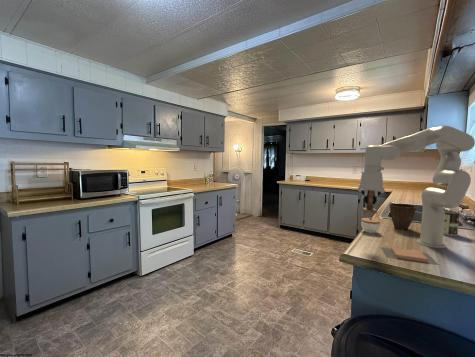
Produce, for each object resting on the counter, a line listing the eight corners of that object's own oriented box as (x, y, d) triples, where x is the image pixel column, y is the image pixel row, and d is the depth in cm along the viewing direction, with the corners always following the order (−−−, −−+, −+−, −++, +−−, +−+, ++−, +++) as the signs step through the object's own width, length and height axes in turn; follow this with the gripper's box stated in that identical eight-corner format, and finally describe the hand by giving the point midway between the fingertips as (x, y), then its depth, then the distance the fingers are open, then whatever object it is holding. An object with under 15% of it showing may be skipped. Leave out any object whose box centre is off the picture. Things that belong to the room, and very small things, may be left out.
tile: (391, 247, 119) (396, 254, 110) (419, 251, 115) (427, 258, 105) (390, 250, 119) (395, 257, 110) (419, 254, 115) (427, 262, 105)
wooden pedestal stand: (362, 210, 130) (364, 185, 129) (374, 211, 128) (376, 185, 126) (363, 212, 124) (365, 186, 123) (376, 213, 122) (378, 186, 121)
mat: (380, 247, 123) (380, 247, 123) (427, 254, 116) (427, 253, 116) (386, 258, 110) (386, 257, 110) (439, 265, 103) (439, 265, 103)
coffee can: (456, 233, 152) (458, 211, 151) (458, 237, 144) (460, 214, 143) (435, 229, 159) (437, 209, 157) (436, 233, 150) (438, 211, 149)
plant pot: (382, 226, 164) (384, 204, 163) (396, 224, 170) (397, 202, 169) (405, 232, 151) (407, 208, 149) (419, 230, 157) (421, 206, 156)
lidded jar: (371, 235, 145) (372, 220, 144) (356, 230, 154) (357, 216, 154) (383, 233, 149) (384, 218, 148) (368, 228, 159) (368, 214, 158)
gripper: (388, 169, 125) (386, 203, 126) (354, 168, 131) (352, 201, 132) (392, 170, 118) (389, 206, 119) (355, 169, 124) (353, 203, 125)
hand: (370, 203), depth 126 cm, fingers closed on wooden pedestal stand, 3 cm apart
